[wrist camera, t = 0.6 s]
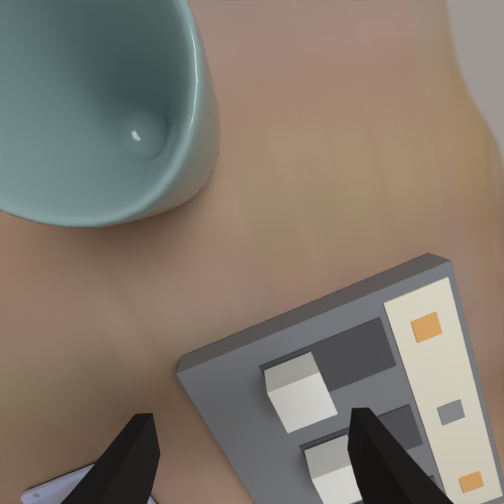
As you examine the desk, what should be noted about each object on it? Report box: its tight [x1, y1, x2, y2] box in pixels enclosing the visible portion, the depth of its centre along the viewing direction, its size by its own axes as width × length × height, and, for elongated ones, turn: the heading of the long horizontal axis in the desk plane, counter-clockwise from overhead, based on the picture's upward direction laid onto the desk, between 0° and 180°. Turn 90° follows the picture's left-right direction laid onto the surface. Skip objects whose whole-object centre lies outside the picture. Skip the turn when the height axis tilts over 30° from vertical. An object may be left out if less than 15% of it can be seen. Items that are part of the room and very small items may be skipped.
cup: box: [0, 0, 220, 228], centre depth 11 cm, size 8×8×10 cm
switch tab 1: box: [264, 352, 338, 433], centre depth 17 cm, size 4×4×2 cm
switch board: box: [176, 253, 504, 504], centre depth 21 cm, size 20×24×2 cm
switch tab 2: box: [305, 434, 362, 504], centre depth 19 cm, size 4×4×2 cm
